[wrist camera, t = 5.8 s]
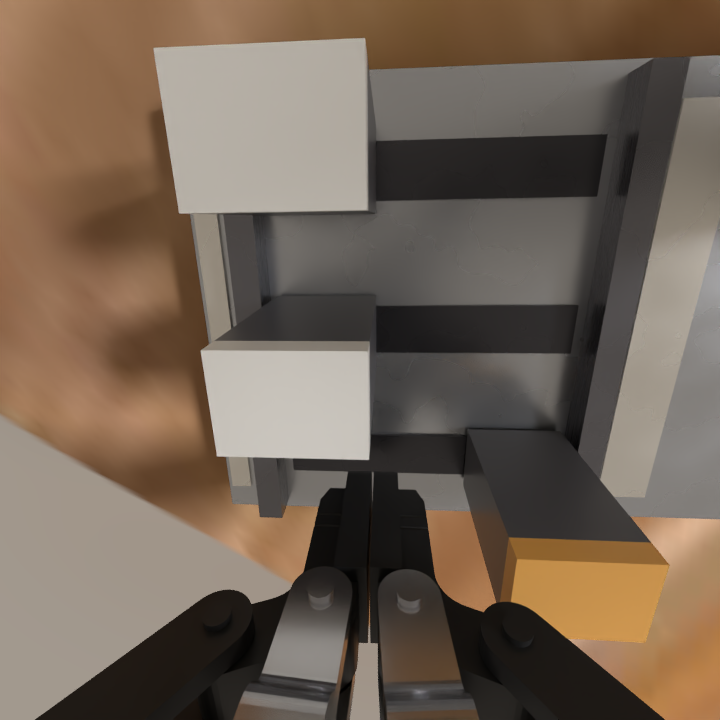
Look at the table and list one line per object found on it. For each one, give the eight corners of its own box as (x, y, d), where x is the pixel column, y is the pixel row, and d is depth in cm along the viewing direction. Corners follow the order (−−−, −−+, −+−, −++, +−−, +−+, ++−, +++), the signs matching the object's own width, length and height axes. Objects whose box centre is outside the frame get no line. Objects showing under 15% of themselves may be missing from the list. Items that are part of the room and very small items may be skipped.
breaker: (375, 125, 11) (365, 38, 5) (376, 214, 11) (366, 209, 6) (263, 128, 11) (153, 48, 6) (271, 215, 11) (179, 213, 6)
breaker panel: (876, 68, 11) (1013, 26, 8) (728, 492, 15) (789, 542, 13) (195, 94, 12) (148, 64, 10) (245, 479, 17) (222, 522, 14)
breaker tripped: (560, 430, 13) (669, 565, 8) (550, 487, 14) (645, 642, 9) (467, 429, 13) (517, 559, 8) (463, 484, 14) (505, 635, 9)
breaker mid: (376, 295, 12) (368, 351, 7) (376, 364, 13) (368, 459, 8) (278, 295, 12) (200, 350, 7) (283, 363, 13) (217, 456, 8)
